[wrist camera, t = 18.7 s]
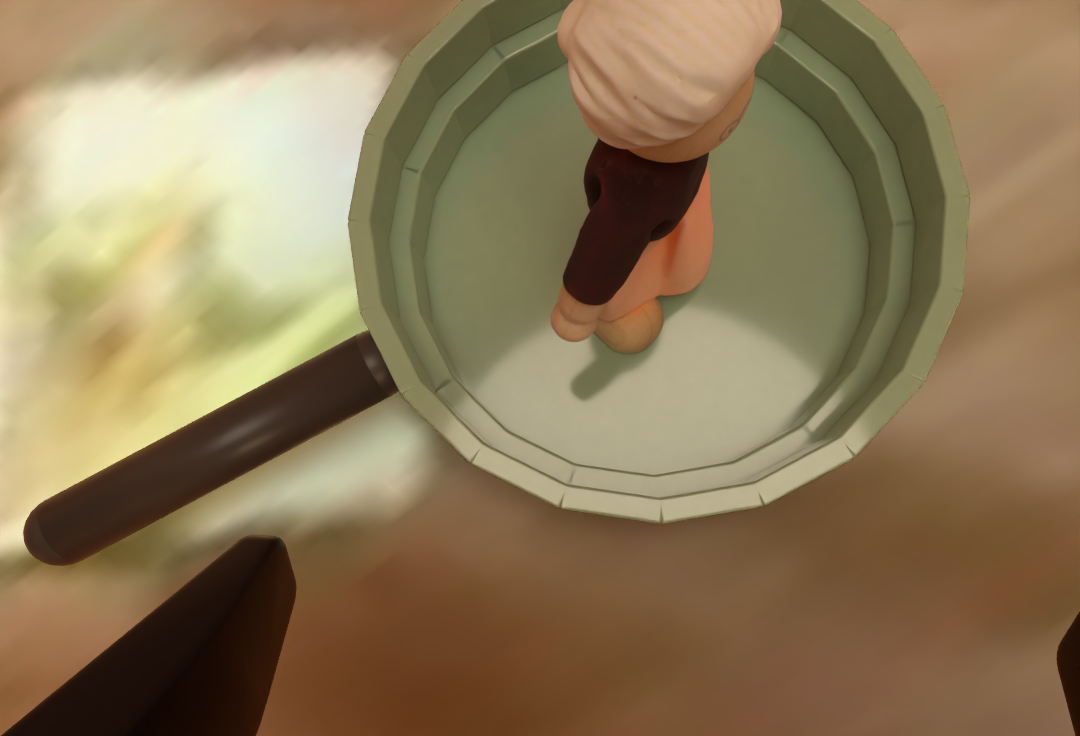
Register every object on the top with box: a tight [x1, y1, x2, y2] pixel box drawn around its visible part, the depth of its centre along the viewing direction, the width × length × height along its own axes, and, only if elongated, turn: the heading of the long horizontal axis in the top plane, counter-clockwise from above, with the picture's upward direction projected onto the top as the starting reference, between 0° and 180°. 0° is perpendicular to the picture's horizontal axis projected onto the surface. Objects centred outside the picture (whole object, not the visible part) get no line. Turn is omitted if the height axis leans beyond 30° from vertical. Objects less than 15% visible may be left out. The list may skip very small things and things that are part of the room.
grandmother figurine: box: [551, 0, 782, 354], centre depth 17 cm, size 8×4×13 cm, turn 166°
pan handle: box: [23, 331, 398, 566], centre depth 20 cm, size 11×2×2 cm, turn 118°
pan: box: [348, 0, 970, 524], centre depth 21 cm, size 15×15×4 cm
